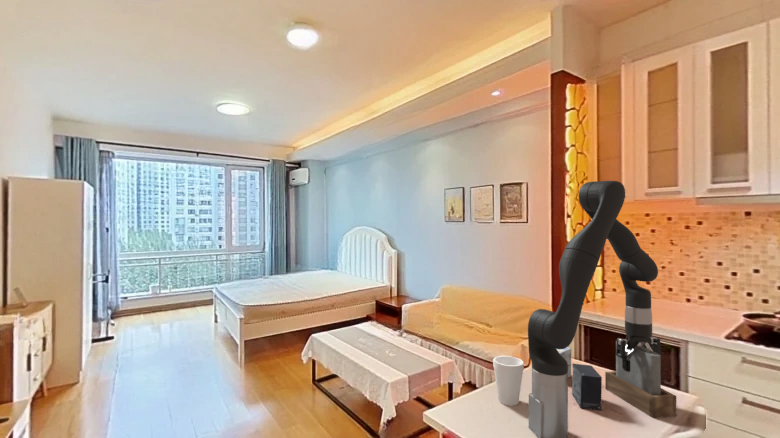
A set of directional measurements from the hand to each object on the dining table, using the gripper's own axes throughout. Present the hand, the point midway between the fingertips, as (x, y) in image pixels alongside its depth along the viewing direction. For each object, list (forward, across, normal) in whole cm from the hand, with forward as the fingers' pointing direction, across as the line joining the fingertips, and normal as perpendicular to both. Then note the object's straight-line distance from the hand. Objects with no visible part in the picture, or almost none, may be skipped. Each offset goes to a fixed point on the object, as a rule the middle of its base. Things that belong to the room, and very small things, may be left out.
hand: (638, 370), depth 124 cm
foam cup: (+10, -42, +6) cm, 44 cm away
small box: (+10, -17, +2) cm, 20 cm away
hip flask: (+10, 0, 0) cm, 10 cm away
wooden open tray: (+10, 0, 0) cm, 10 cm away
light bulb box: (+10, -15, +22) cm, 29 cm away
